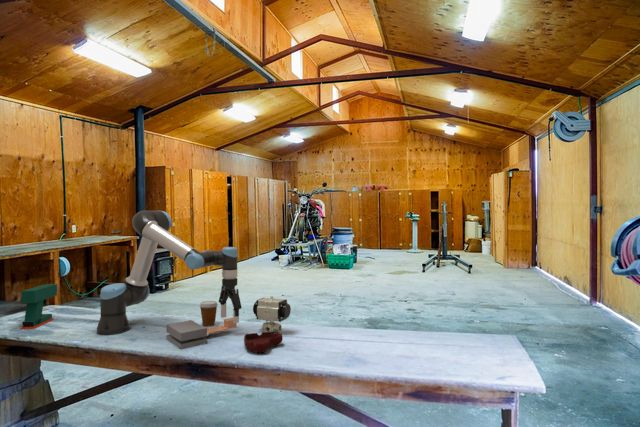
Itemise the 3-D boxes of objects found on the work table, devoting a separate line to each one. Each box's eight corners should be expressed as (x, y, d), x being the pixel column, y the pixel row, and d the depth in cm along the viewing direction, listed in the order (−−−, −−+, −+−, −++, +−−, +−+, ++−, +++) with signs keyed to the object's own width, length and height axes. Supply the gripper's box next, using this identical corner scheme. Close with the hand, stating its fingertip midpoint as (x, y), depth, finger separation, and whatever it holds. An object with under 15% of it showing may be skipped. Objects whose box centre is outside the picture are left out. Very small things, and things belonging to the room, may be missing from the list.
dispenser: (181, 349, 175) (180, 333, 175) (166, 339, 190) (166, 324, 190) (209, 342, 183) (208, 327, 183) (192, 333, 198) (192, 319, 198)
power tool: (53, 314, 240) (53, 281, 240) (65, 314, 241) (65, 281, 241) (19, 329, 209) (19, 291, 209) (34, 329, 209) (33, 291, 210)
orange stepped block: (204, 334, 188) (204, 326, 188) (198, 331, 194) (198, 323, 194) (237, 327, 200) (237, 319, 200) (231, 324, 205) (231, 317, 205)
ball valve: (251, 332, 199) (251, 297, 199) (260, 328, 207) (260, 294, 207) (283, 336, 192) (282, 299, 192) (291, 331, 200) (290, 296, 200)
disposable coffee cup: (212, 327, 209) (212, 304, 209) (196, 326, 211) (196, 304, 211) (221, 322, 218) (220, 301, 218) (205, 322, 220) (204, 300, 220)
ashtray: (256, 339, 189) (256, 329, 189) (285, 344, 181) (285, 333, 181) (231, 351, 173) (231, 339, 173) (262, 356, 165) (262, 344, 165)
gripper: (212, 275, 208) (212, 316, 208) (234, 281, 189) (234, 326, 189) (225, 274, 213) (225, 313, 213) (248, 280, 194) (248, 323, 194)
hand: (229, 320), depth 201 cm, fingers open, 13 cm apart
